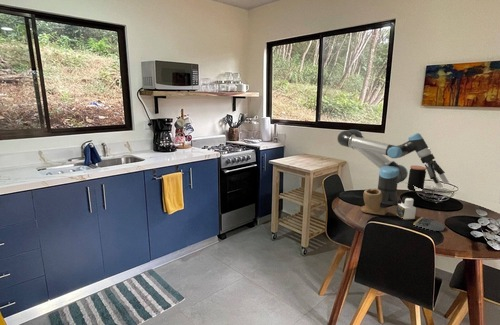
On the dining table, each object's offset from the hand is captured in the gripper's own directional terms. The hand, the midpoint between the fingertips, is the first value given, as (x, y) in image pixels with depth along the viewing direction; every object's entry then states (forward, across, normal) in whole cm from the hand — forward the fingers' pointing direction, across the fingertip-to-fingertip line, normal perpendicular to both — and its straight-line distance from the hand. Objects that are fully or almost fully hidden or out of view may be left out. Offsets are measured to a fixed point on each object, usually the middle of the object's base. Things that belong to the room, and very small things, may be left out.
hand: (443, 185), depth 181 cm
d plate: (+15, -34, +6) cm, 38 cm away
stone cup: (-2, -40, +29) cm, 50 cm away
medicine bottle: (+7, -31, +17) cm, 36 cm away
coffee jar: (-1, +29, +28) cm, 40 cm away
